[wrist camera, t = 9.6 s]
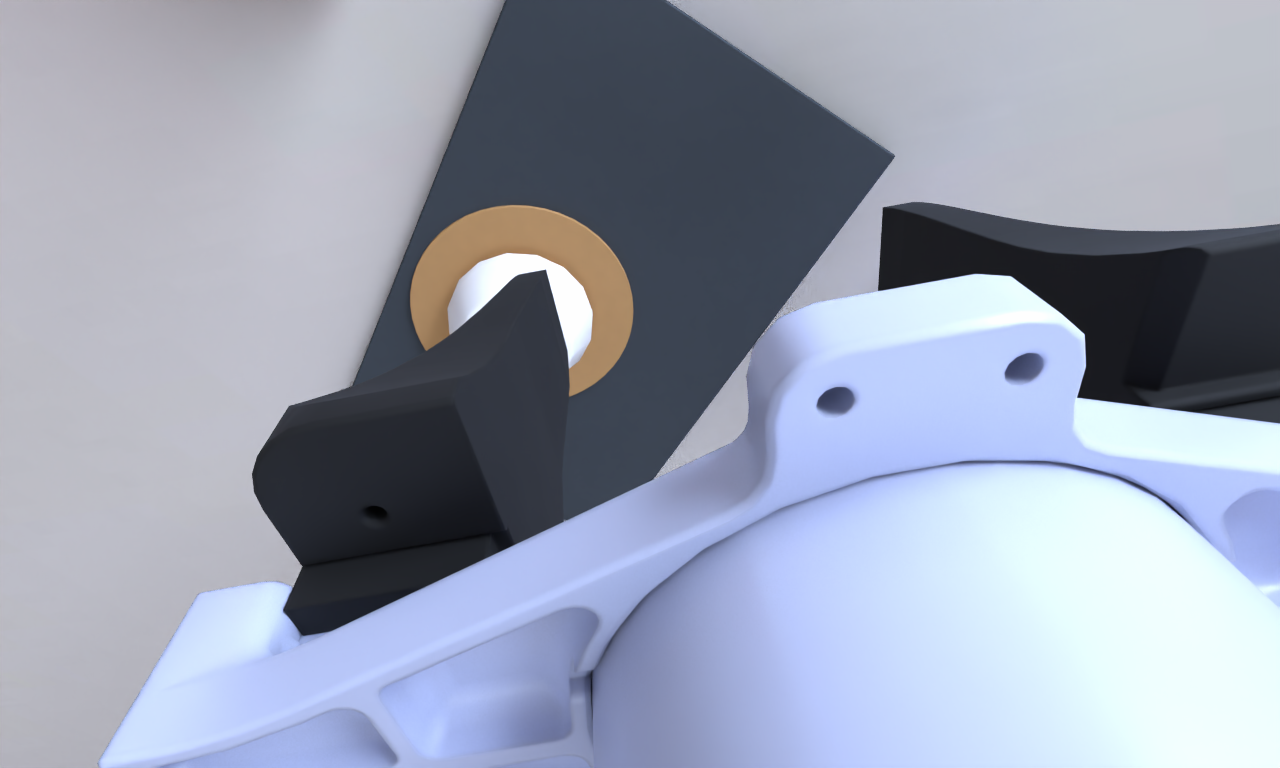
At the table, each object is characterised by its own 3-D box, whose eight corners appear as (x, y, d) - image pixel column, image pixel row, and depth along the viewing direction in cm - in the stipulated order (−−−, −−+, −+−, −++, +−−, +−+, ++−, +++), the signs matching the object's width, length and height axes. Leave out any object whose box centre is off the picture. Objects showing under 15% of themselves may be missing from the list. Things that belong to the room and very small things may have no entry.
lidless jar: (614, 285, 23) (481, 224, 21) (619, 325, 20) (469, 259, 19) (557, 389, 25) (433, 342, 24) (555, 436, 23) (416, 387, 21)
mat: (889, 151, 22) (898, 158, 21) (610, 526, 31) (611, 539, 30) (540, -85, 17) (539, -87, 17) (334, 432, 26) (328, 445, 26)
